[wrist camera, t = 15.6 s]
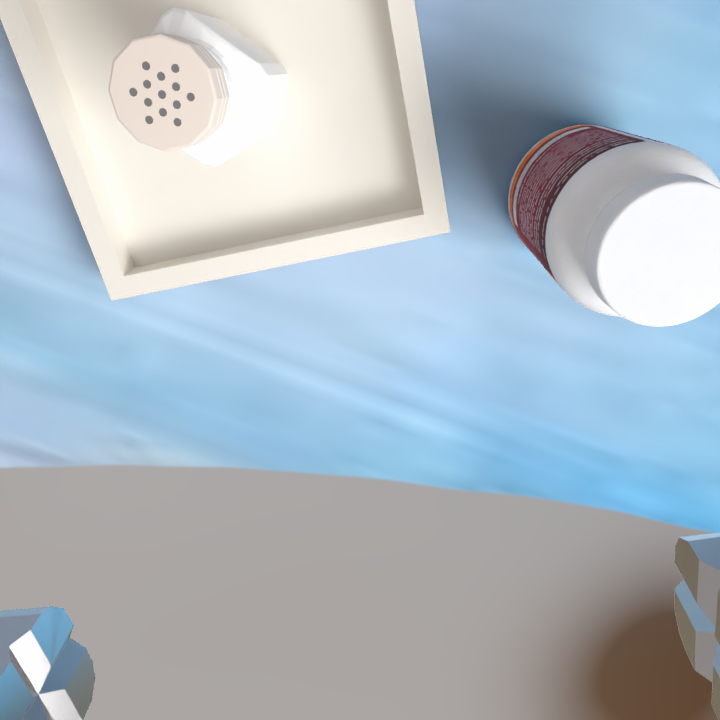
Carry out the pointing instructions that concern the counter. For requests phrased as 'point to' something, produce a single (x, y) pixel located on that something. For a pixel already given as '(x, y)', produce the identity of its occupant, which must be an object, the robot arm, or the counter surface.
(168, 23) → the salt shaker
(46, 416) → the counter surface
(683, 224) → the pill bottle
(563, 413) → the counter surface
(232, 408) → the counter surface
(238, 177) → the tray
